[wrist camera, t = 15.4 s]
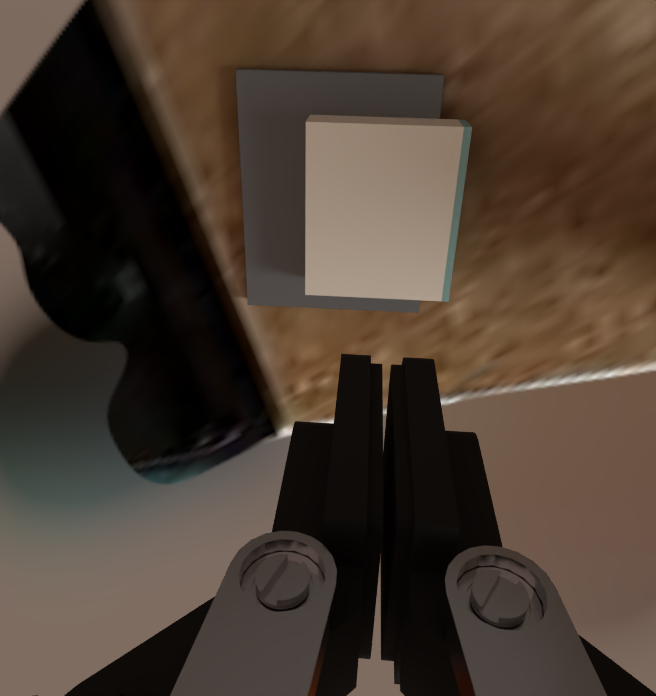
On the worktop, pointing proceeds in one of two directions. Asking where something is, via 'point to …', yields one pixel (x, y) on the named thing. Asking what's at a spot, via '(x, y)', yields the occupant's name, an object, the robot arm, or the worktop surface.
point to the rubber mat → (290, 167)
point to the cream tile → (383, 205)
